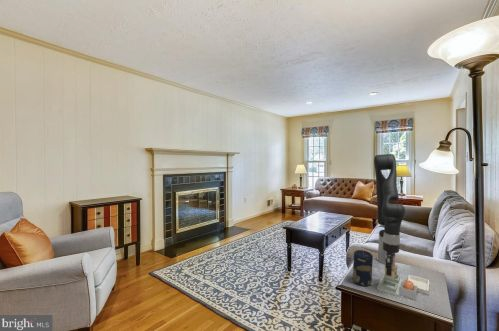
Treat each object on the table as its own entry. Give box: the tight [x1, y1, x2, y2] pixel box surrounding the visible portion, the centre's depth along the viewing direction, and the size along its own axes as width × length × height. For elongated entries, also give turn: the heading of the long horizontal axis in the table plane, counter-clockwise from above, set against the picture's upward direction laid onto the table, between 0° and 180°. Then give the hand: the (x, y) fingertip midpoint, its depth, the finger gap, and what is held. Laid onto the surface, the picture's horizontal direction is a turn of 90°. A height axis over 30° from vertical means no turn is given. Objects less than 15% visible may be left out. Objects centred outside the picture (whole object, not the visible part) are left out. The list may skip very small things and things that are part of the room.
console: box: [399, 281, 418, 301], centre depth 125 cm, size 7×7×4 cm
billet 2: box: [393, 264, 398, 279], centre depth 138 cm, size 4×4×8 cm
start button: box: [403, 280, 414, 290], centre depth 125 cm, size 4×4×6 cm
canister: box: [352, 249, 373, 287], centre depth 136 cm, size 10×10×18 cm
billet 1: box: [384, 260, 396, 278], centre depth 129 cm, size 4×4×8 cm
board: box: [376, 273, 404, 297], centre depth 134 cm, size 19×10×3 cm, turn 142°
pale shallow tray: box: [406, 274, 430, 297], centre depth 133 cm, size 14×10×2 cm
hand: (389, 273), depth 129 cm, fingers closed on billet 1, 4 cm apart
